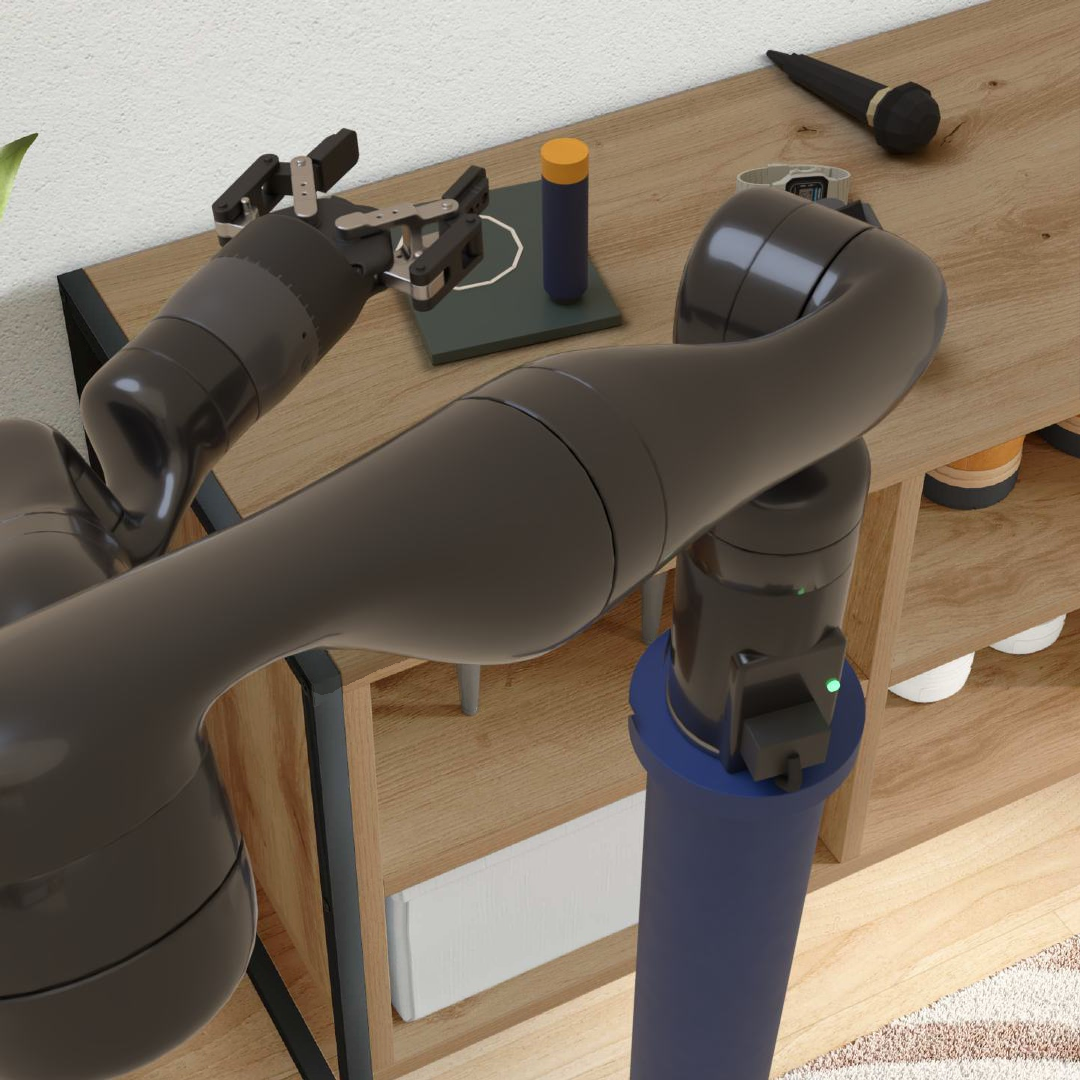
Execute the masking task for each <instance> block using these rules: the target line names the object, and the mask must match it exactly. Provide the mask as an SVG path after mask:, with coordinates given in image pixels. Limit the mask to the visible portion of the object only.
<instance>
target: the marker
mask: <svg viewBox="0 0 1080 1080" xmlns="http://www.w3.org/2000/svg"><path fill="white" fill-rule="evenodd" d="M589 153H590V150H589V147H588V146H587V144H586V143H585V142H583V141H581V140H579V139H576V138H573V137H558V138H554V139H552V140H551V139H550V140H549V141H547V142H546V143H544V144H543V145H542V147H541V149H540V171H541V172H540V173H541V176H540V177H541V179H540V180H541V184H542V239H543V287H544V290H545V291H546V292H547V293H548V294H549V296H550V298H551V299H552V300H553V301H554V302H556V303H559V304H572V303H575V302H577V301H578V300H580V298H581V297H582V294H583V293H584V292H585V291H586V290H587V287H588V256H589V192H590V191H589V189H590V188H589V187H590V186H589V184H590V183H589V182H590V181H589V178H590V177H589V176H590V175H589V174H590V173H589V172H590V170H589V169H590V163H589V162H590V161H589V160H590V154H589Z"/></svg>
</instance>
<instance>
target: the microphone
mask: <svg viewBox="0 0 1080 1080" xmlns="http://www.w3.org/2000/svg"><path fill="white" fill-rule="evenodd" d="M765 55H766V57H767V58H768V59H769V60H771V61H772V62H774V64H775V65H776V66H778V67H780V68H781V69H782V72H784V73H786V75H788V78H789V79H791V80H792V81H793V82H796V83H797V84H799V85H800V86H802V87H804V88H806V89H807V90H809V91H811V92H813V94H816V95H818V96H819V97H821V98H822V99H824V100H826V101H828V102H829V103H831V104H833V105H835V106H836V107H838V108H840V109H841V110H843V111H844V112H846V113H848V114H850V115H851V116H852V117H854V118H857V120H859V121H862V122H863V123H864V124H867V125H869V127H871V128H873V133H874V136H875V141H876V143H877V144H876V145H878V146H879V147H881V148H883V149H884V150H886V151H889V152H891V153H893V154H894V155H899V154H901V153H906V154H907V153H914V152H917V151H920V150H922V149H925V148H926V147H927V146H928V145H929V144H930V143H931V141H932V140H933V138H934V137H935V136H936V135H937V132H938V128H939V126H940V123H941V120H942V116H941V110H940V107H939V103H938V102H937V101H936V99H935V98H934V97H933V95H932V91H931V90H930V89H928V88H926V87H925V86H924V85H923V86H922V85H921V84H919V83H917V82H914V81H911V80H910V81H908V82H905V83H903V84H900V85H898V86H895V87H891V86H889V85H886V84H883V83H880V82H879V81H876V80H873V79H870V78H868V77H865V76H862V75H859V74H857V73H854V72H852V71H849V70H846V69H843V68H841V67H838V66H835V65H833V64H830V63H827V62H824V61H822V60H820V59H816V58H814V57H811V56H809V55H806V54H804V53H800V54H799V53H796V52H792V53H791V54H790V53H787V52H782V51H778V50H774V49H767V51H765Z"/></svg>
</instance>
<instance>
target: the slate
mask: <svg viewBox="0 0 1080 1080" xmlns="http://www.w3.org/2000/svg"><path fill="white" fill-rule="evenodd" d="M489 197H490V200H489V205H488V206H487V207H486V209H485V210H483V212H482V213H481V214H479V216H480V217H481V219H482V233H483V251H484V258H483V260H482V261H481V262H480V263H479V264H478V265H477V266H476V267H475V268H474V269H473V270H472V271H471V272H470V273H469V274H468V275H467V276H466V277H465V278H464V279H463V280H462V281H461V282H460V283H458V284H457V285H456V286H455V287H454V288H453V289H452V290H451V291H450V292H449V293H448V294H447V295H446V296H445V297H444V298H443V299H442V300H441V301H440V302H439V303H438V304H437V305H436V306H435V307H434V308H433V309H432V310H430V311H427V312H419V311H416V310H415V309H414V308H413V306H412V296H411V295H409V294H406V293H403V292H402V295H403V297H404V300H405V302H406V304H407V307H408V309H409V311H410V314H411V316H412V318H413V321H414V323H415V325H416V328H417V331H418V333H419V335H420V338H421V341H422V342H423V345H424V347H425V350H426V352H427V355H428V357H429V360H430V363H431V364H432V366H436V365H440V364H441V365H442V364H445V363H449V362H455V361H459V360H464V359H469V358H475V357H478V356H479V357H480V356H482V355H483V356H484V355H488V354H491V353H492V354H493V353H497V352H502V351H506V350H510V349H516V348H520V347H525V346H529V345H534V344H539V343H543V342H548V341H554V340H558V339H562V338H566V337H571V336H576V335H580V334H585V333H590V332H595V331H600V330H604V329H608V328H613V327H617V326H621V325H622V313H621V311H620V309H619V307H618V306H617V304H616V302H615V301H614V298H613V297H612V295H611V293H610V292H609V290H608V288H607V287H606V284H605V283H604V281H603V280H602V277H601V276H600V273H599V272H598V271H597V268H596V267H595V265H594V262H593V261H592V260H591V258H590V256H589V255H588V287H587V290H586V291H585V292H584V293H583V294H582V297H581V298H580V300H578V301H577V302H575V303H572V304H559V303H556V302H554V301H553V300H552V299H551V298H550V296H549V294H548V293H547V292H546V291H545V290H544V287H543V239H542V184H541V179H539V180H534V181H528V182H523V183H518V184H513V185H509V186H508V185H507V186H503V187H498V188H493V189H489ZM439 200H442V198H440V199H436V200H430V201H425V202H420V203H415V204H414V203H413V204H412V205H413V206H414V207H418V206H422V205H425V204H429V203H432V202H436V201H439ZM390 230H391V238H392V245H393V251H396V250H398V249H399V248H401V246H402V244H403V236H402V227H401V226H398V227H395V228H391V229H390ZM434 232H438V222H437V223H433V224H430V225H427V226H425V227H424V228H423V229H422V236H424V235H427V234H431V233H434Z"/></svg>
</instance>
